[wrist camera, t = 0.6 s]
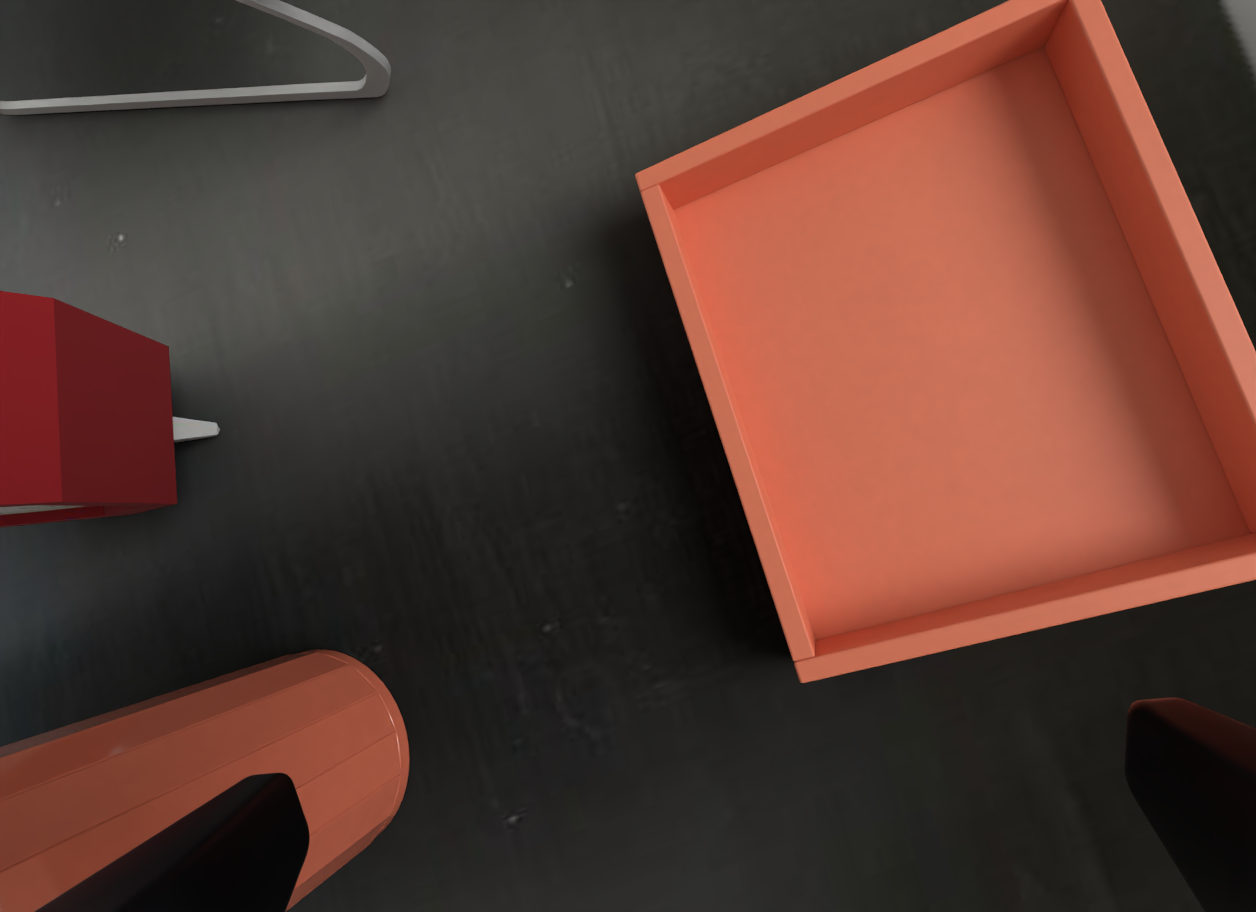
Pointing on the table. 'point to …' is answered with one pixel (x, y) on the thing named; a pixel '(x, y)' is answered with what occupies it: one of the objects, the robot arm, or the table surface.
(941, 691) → the table surface
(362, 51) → the chair
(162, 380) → the alarm clock
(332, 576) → the table surface
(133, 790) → the coral cup
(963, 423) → the coral tray
